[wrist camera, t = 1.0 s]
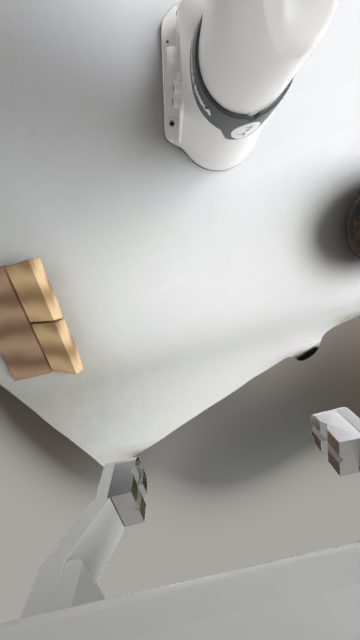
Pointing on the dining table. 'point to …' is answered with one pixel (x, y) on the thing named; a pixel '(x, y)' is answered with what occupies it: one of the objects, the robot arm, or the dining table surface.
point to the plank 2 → (58, 346)
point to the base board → (18, 335)
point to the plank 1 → (34, 290)
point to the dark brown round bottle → (354, 227)
